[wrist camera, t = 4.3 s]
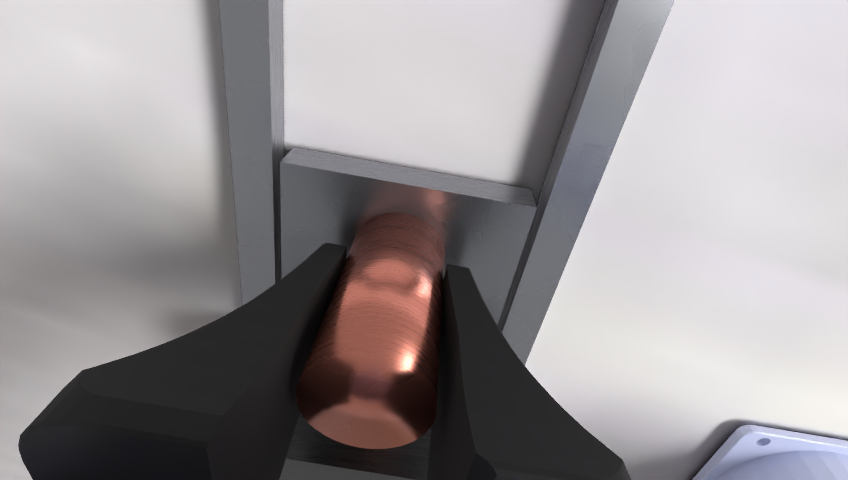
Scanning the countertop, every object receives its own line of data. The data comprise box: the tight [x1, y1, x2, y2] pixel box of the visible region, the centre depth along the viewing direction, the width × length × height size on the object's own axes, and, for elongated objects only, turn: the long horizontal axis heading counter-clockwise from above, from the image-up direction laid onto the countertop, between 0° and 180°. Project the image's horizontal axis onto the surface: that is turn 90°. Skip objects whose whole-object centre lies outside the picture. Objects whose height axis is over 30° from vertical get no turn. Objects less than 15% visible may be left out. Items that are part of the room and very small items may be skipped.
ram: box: [279, 147, 537, 480], centre depth 13 cm, size 9×9×7 cm
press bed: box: [219, 0, 674, 366], centre depth 16 cm, size 14×34×6 cm, turn 171°
